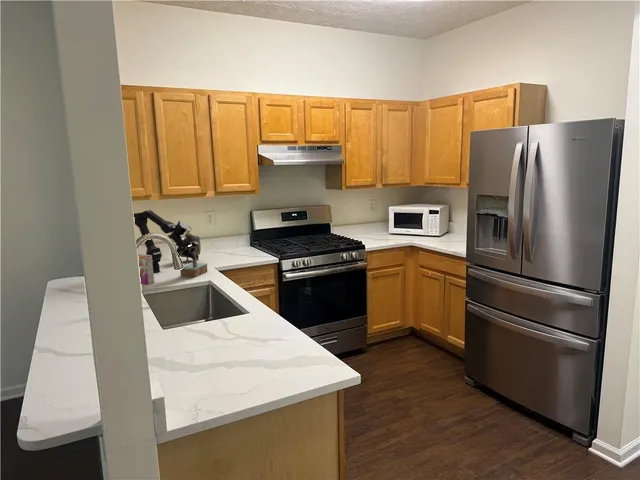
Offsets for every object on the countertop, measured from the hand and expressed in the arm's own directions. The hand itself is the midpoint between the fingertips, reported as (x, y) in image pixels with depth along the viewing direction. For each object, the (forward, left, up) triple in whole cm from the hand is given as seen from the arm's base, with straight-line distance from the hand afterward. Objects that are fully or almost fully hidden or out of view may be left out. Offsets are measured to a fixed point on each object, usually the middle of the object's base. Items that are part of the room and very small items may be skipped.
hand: (196, 258), depth 262 cm
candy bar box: (-29, +9, -11) cm, 32 cm away
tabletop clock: (+18, +44, -11) cm, 49 cm away
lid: (+1, +6, -6) cm, 9 cm away
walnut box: (+1, +6, -11) cm, 12 cm away
